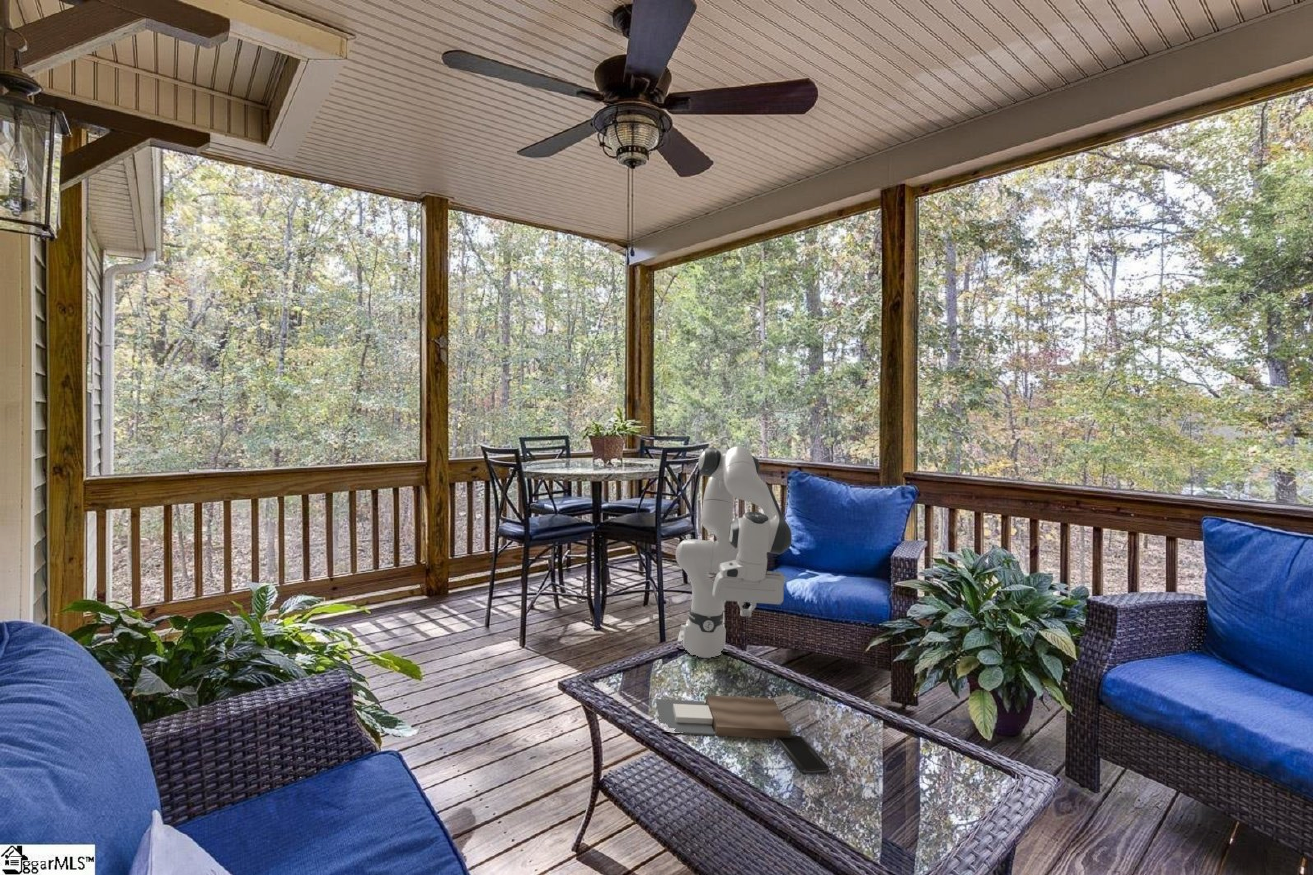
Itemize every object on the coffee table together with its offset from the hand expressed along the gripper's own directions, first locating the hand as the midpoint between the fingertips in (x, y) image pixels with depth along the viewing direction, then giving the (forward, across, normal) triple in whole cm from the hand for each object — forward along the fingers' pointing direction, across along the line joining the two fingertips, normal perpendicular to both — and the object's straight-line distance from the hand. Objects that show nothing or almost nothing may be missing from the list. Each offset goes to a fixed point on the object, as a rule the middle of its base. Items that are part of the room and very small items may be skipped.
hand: (745, 616), depth 175 cm
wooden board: (+27, -1, +9) cm, 28 cm away
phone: (+27, -12, +24) cm, 38 cm away
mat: (+26, +16, +9) cm, 32 cm away
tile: (+26, +14, +9) cm, 31 cm away
